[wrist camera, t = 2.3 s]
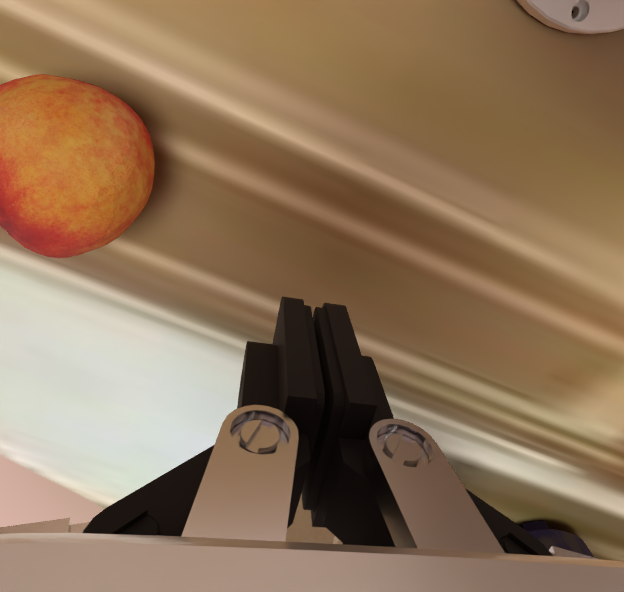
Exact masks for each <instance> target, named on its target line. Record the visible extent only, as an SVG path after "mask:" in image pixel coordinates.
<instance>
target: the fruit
mask: <svg viewBox="0 0 624 592" xmlns="http://www.w3.org/2000/svg"><path fill="white" fill-rule="evenodd" d="M154 169H155V160H154V151H153V147H152V142H151V138H150V135H149V133H148V131H147V129H146V127H145V125H144V123H143V122H142V120H141V119H140V117H139V116H138V115H137V114H136V113H135V112H134V111H133V109H132V108H131V107H130V106H128V105H127V104H126V103H125V102H124V101H122V100H121V99H119V98H118V97H116V96H115V95H113V94H111V93H109V92H107V91H106V90H104V89H102V88H100V87H97V86H95V85H92V84H88V83H85V82H81V81H78V80H74V79H69V78H63V77H57V76H51V75H45V74H41V75H33V76H28V77H24V78H19V79H15V80H12V81H9V82H7V83H4V84H1V85H0V226H1V227H2V228H4V229H5V230H6V231H7V232H8V233H9V235H10V236H11V237H13V238H14V239H15V240H16V241H18V242H19V243H20V244H21V245H23V246H24V247H25V248H27V249H29V250H31V251H33V252H35V253H38V254H41V255H44V256H47V257H54V258H67V257H72V256H76V255H80V254H83V253H86V252H88V251H91V250H94V249H97V248H99V247H102V246H104V245H106V244H108V243H110V242H112V241H113V240H115V239H116V238H118V237H119V236H120V235H121V234H122V233H123V232H124V231H125V230H126V229H127V228H128V227H129V226H130V225H131V224H132V223H133V221H134V220H135V219H136V218H137V216H138V215H139V214H140V212H141V211H142V210H143V208H144V207H145V205H146V204H147V201H148V199H149V196H150V193H151V191H152V186H153V180H154Z"/></svg>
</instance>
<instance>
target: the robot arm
mask: <svg viewBox="0 0 624 592" xmlns="http://www.w3.org/2000/svg"><path fill="white" fill-rule="evenodd" d="M517 1H518V2H519V4H520V5H521V6H522V7H523V8H524V9H525V10H526V11H527V12H528V13H529V14H530V15H532V16H533V17H535V18H536V19H538V20H539V21H541V22H542V23H544V24H545V25H547V26H549V27H552V28H555V29H558V30H561V31H564V32H567V33H579V34H596V33H606V32H614V31H617V30H621V29H624V0H517ZM572 8H573V11H574V13H573V16H572V15H571V13H572ZM301 493H302V505H303V509H304V510H311V519H312V527H323V528H327V529H328V530H329V531H330V532H331V533H332V534H334V535H335V536H334V540H333V544H325V543H306V542H285V540H286V533H287V528H288V527H290V526H291V525H292V524H293V521H294V518H295V514H296V510H297V507H298V504H299V500H300V497H301ZM0 592H624V561H613V560H601V559H597V558H594V557H590V556H587V555H583V554H580V553H576V552H572V551H569V550H565V549H562V548H558V547H555V546H552V547H551V548H550V550H548V549H547V548H546V547H545V546H544V544H543V543H541V542H540V541H539V540H538V539H536V538H535V537H534V536H533V535H532V534H530V533H529V532H527V531H526V530H524V529H523V528H522V527H520V526H519V525H517V524H516V523H514V522H513V521H511V520H510V519H509V518H507V517H506V516H504V515H503V514H501V513H500V512H498V511H497V510H496V509H494V508H493V507H491V506H490V505H488V504H487V503H485V502H484V501H483V500H481V499H480V498H478V497H477V496H475V495H474V494H472V493H471V492H470V491H468V490H467V489H465V488H464V486H463V485H462V483H461V482H460V480H459V478H458V477H457V475H456V474H455V472H454V470H453V469H452V467H451V466H450V464H449V462H448V461H447V459H446V458H445V456H444V454H443V453H442V451H441V450H440V448H439V446H438V445H437V443H436V442H435V441H434V440H433V438H432V437H431V436H430V435H429V434H428V433H426V432H425V431H424V430H423V429H421V428H420V427H418V426H416V425H414V424H412V423H410V422H406V421H403V420H399V419H394V418H393V415H392V412H391V409H390V407H389V404H388V401H387V398H386V395H385V393H384V390H383V387H382V384H381V381H380V378H379V376H378V373H377V370H376V367H375V364H374V362H373V360H372V358H371V357H368V356H362V355H361V352H360V349H359V346H358V343H357V340H356V337H355V334H354V330H353V327H352V324H351V321H350V318H349V315H348V312H347V309H346V306H344V305H337V304H330V303H324V304H323V307H322V308H320V307H316V308H315V311H314V314H313V318H312V312H311V307H310V306H306V305H304V301H303V300H302V299H295V298H288V297H282V299H281V303H280V308H279V313H278V318H277V324H276V329H275V334H274V339H273V344H265V343H257V342H249V341H247V345H246V350H245V356H244V362H243V369H242V375H241V382H240V390H239V398H238V407H237V409H236V410H234V411H233V412H231V413H230V414H229V415H228V416H227V417H226V419H225V420H224V422H223V424H222V427H221V429H220V432H219V435H218V437H217V440H216V443H215V445H213V446H212V447H210V448H208V449H207V450H205V451H203V452H201V453H200V454H198V455H196V456H195V457H193V458H191V459H189V460H188V461H186V462H184V463H183V464H181V465H179V466H177V467H176V468H174V469H172V470H171V471H169V472H167V473H165V474H164V475H162V476H160V477H159V478H157V479H155V480H153V481H152V482H150V483H148V484H147V485H145V486H143V487H141V488H140V489H138V490H136V491H135V492H133V493H131V494H129V495H128V496H126V497H124V498H123V499H121V500H119V501H117V502H116V503H114V504H112V505H111V506H109V507H107V508H106V509H104V510H103V511H102V512H100V513H99V514H98V515H96V516H95V517H94V518H93V519H92V521H91V522H88V523H81V524H74V525H71V521H70V518H66V519H59V520H52V521H45V522H37V523H30V524H22V525H16V526H8V527H1V528H0Z"/></svg>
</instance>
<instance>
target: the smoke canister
mask: <svg viewBox="0 0 624 592" xmlns="http://www.w3.org/2000/svg"><path fill="white" fill-rule="evenodd" d="M522 525H523V527H524V529H525V530H526V531H527V532H529V533H530V534H532V535H533V536H534V537H535V538H536V539H538V540H539V541H540V542H541V543H543V544H544V546H545V547H546V548H547V549H548V550H550V548H551V547H552V546H555V547H558V548H562V549H565V550H569V551H572V552H576V553H580V554H583V555H587V556H590V557H594V556H593V555H592V553H591V552H590V550H589V549H588V547H587V546H586V544H585V543H584V542H583V540H582V539H580V538H579V537H577V536H576V535H574V534H571V533H568V532H565V531H562V530H554V529H550V528H549V526H548V524H547V523H546V521H530V522H525V523H523V524H522Z"/></svg>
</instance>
